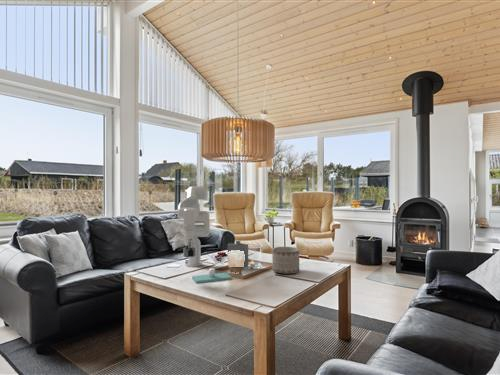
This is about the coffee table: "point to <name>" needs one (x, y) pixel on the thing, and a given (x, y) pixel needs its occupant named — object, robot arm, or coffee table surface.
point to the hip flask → (242, 248)
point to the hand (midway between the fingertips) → (189, 254)
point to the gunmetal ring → (185, 252)
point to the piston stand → (211, 277)
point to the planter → (285, 260)
